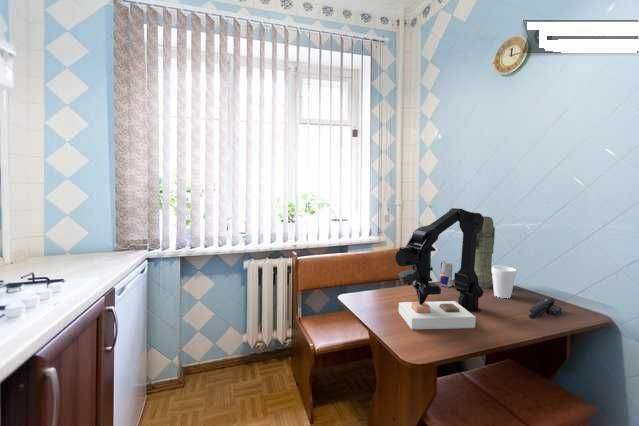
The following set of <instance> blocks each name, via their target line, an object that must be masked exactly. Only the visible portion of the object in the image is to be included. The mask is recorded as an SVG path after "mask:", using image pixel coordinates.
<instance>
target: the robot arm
mask: <svg viewBox="0 0 639 426" xmlns="http://www.w3.org/2000/svg"><path fill="white" fill-rule="evenodd" d="M483 216H484V215H482V213H480V212H473V211H468V210H465V209H463V208H455V207H452V208H450V209H449V210H448V211H447V212H446V213H445V214H443V215H442V216H440V217H438V218H437V219H436V220H434V221H433V222H432V223H431V224H428V225H423V226H420V227H418V228H416V229H414V230H413V232H412V235H411V236H410V238H409V240H408V241H407V243H406V245H405V246H399V250H397V252H396V253H395V256H394V257H395V261H396V262H395V263H396V264H397V265H398V266H399V267H400V268H401V267H403V268H404V267H408V266H409V267H410V266H411V267H410V269H406V270H403V271H400V272H399V273H398V274H397V276H398V278H399V281H400V283H402V284H403V285H404V286H405V285H408V284H410V285H411V286H412V287H413V288H414V289H415V293H416V296H417V300H418V301H419V304H420V305H422V304H423V303H424V301H425V302H426V300H427V298H428V297H429V295H441V294H442V288H441V287H440V286H439V285H438V284H436V283H435V282H433V278H431V271H433V267H432V266H431V264H432V261H431V260H432V252H436V248H435V247H434V246H433V245H434V244H435V243H436V242H437V241H438V239H439V236H440V235H441V234H442V233H444V232H445V231H446V230H448V229H449V228H450V227H451V226H453V225H454V224H456V223H458V222H459V226H458V227H459V229H460V231H461V233H462V246H461V259H460V268H459V270H458V271H457V272H454V279H453V282H454V286H455V289H456V292H459V295H458V302H457V303H458V304H459V305H461V306H462V307H463V308H465V309H466V310H467V311H468V312H481V309H480V308H479V299H480V298H481V297H483V294H484V290H483V288H481V287H480V286H479V285H478V277H477V275H476V273H475V271H474V269H475V256H476V243H477V235H478V233H479V232H480V231H481V230H482V227H483V222H484V217H485V216H484V217H483ZM418 301H417V302H418Z"/></svg>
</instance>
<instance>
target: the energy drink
mask: <svg viewBox="0 0 639 426" xmlns="http://www.w3.org/2000/svg"><path fill="white" fill-rule="evenodd" d="M439 275H440V279H439V285H440V286H441V287H444V288H450V287H452V286H453V285H452V283H453V262H452V261H448V260H442V261H441V262H440V274H439Z"/></svg>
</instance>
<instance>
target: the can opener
mask: <svg viewBox="0 0 639 426" xmlns="http://www.w3.org/2000/svg"><path fill="white" fill-rule="evenodd" d="M562 310H563V309H562V307H561V306H559V305H557V304H555V299H554V298H553V297H548V298H541V297H540V298H539V302H537V303H536V304H534V305H533V306H532V307H531V308H530V309H529V312H530V313H529V314H528V318H529V319H531V320H534V319H538V318H539V317H541V316H542V315H543V314H545V312H547V313H548V314H550V315H553V316H558V315H560V313H562ZM557 314H558V315H557Z"/></svg>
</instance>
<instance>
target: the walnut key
mask: <svg viewBox="0 0 639 426" xmlns="http://www.w3.org/2000/svg"><path fill="white" fill-rule="evenodd" d="M440 308H441V309H442V310H444V311H445V312H459V308H457V307H456V306H455V305H454V304H440Z"/></svg>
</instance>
